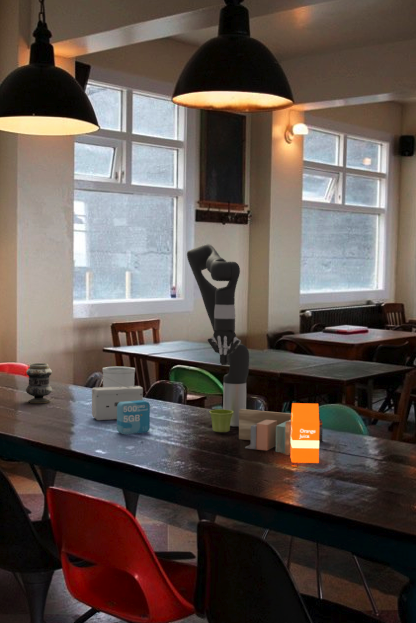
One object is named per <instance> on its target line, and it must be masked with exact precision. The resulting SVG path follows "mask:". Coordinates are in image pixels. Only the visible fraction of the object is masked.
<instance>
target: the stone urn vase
mask: <svg viewBox="0 0 416 623" xmlns="http://www.w3.org/2000/svg"><path fill="white" fill-rule="evenodd" d="M52 374H53V371H52V369H51V368H50V366H49V363H46V362H31V363H30V364H29V368H28V369H27V370H26V375H27V376H28V385H27V386H26V388H25V392H26V393H27V394H28V395H29V396H31V397H34V398H31V399H29V400H28V401H27V402H28V403H29V402H30V403H29V404H46V403H49V402H51V401H50V399H47V398H45V397H46V396H48V395H50V394H51V393H52V391H53V389H52V387H51V386H50V376H51V375H52Z"/></svg>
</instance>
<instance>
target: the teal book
mask: <svg viewBox="0 0 416 623" xmlns="http://www.w3.org/2000/svg"><path fill="white" fill-rule="evenodd" d="M286 422H287V421H286ZM286 422H284V423H281V424H279V425H277V426H276V446H275V452H276V453H281V454H282V453H285V428H286Z"/></svg>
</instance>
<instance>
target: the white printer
mask: <svg viewBox="0 0 416 623" xmlns="http://www.w3.org/2000/svg"><path fill="white" fill-rule="evenodd" d="M97 374H98V375H101V376H102V377H103V376H104V375H103V374H101V373H100V372H98V373H97ZM104 377H106V376H104ZM106 378H108V377H106ZM108 379H110V378H108ZM110 380H112V381H114V382H116V383H119V382H117V381H115V380H113V379H110ZM119 384H121V383H119ZM121 385H123V384H121ZM143 392H144V388H143V387H142V386H141V385H134V386H125V385H123V387H103V386H102V387H100V386H99V387H92V388H91V416H92V417H93V418H94V419H95V420H96V421H110V420H117V404H118V403H119V402H125V401H138V400H143V398H144V397H143V396H144V393H143ZM143 401H144V400H143Z"/></svg>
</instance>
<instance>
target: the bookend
mask: <svg viewBox="0 0 416 623" xmlns="http://www.w3.org/2000/svg"><path fill="white" fill-rule="evenodd" d="M261 422H262V421H261ZM259 423H260V422H259ZM256 435H257V424H254V425H252V426H251V440H250V444H249V445H246V446H244V448H245V449H249V450H257V449H256Z"/></svg>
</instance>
